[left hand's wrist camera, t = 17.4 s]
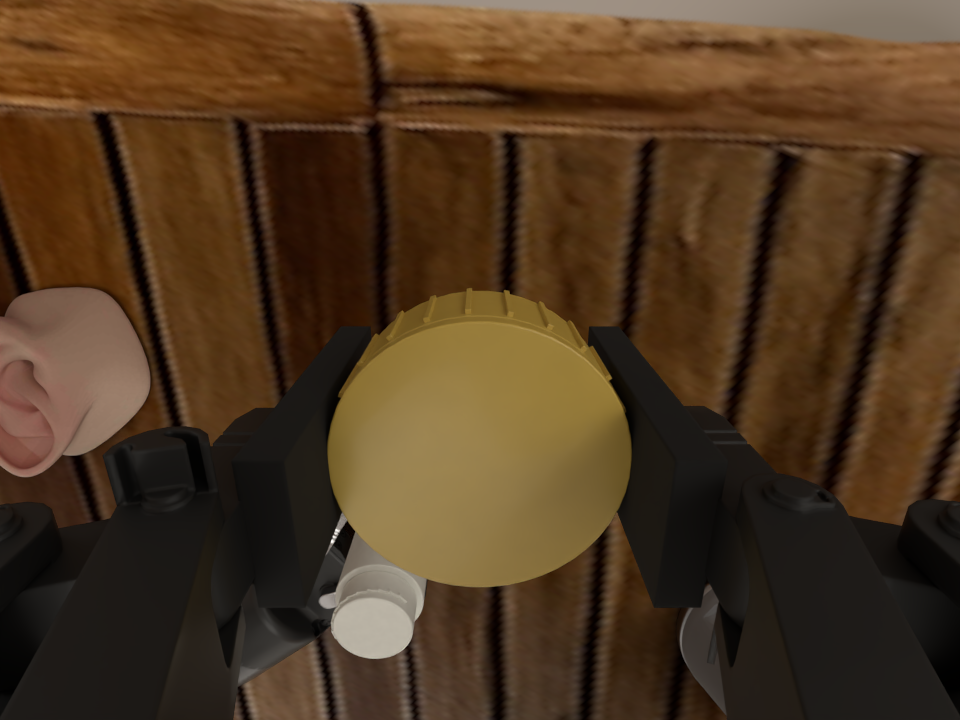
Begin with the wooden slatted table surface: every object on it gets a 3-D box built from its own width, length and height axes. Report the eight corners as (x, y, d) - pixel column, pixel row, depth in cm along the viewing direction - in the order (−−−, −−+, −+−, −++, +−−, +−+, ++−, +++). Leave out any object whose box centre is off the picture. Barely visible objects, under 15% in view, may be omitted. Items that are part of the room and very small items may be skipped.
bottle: (430, 437, 41) (404, 584, 27) (447, 490, 43) (430, 655, 29) (369, 450, 42) (312, 602, 27) (387, 502, 43) (342, 671, 29)
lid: (296, 403, 12) (257, 456, 10) (491, 227, 11) (494, 245, 9) (469, 560, 13) (468, 634, 11) (659, 423, 12) (697, 479, 10)
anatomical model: (34, 267, 33) (162, 416, 36) (80, 256, 36) (191, 392, 40) (-115, 367, 35) (18, 498, 38) (-58, 347, 39) (59, 468, 42)
